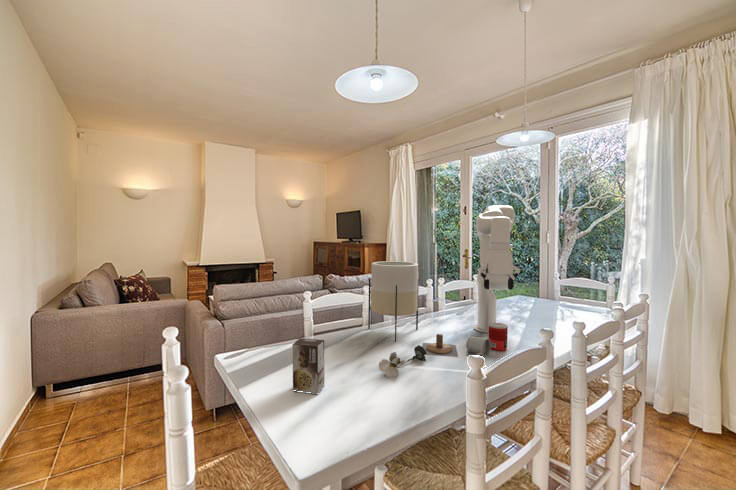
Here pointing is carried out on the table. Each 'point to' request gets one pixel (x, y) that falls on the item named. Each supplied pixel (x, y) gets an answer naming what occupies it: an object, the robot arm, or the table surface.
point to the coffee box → (308, 365)
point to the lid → (439, 346)
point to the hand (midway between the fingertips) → (498, 289)
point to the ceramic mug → (478, 346)
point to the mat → (452, 354)
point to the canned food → (498, 336)
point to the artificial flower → (395, 362)
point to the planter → (394, 289)
